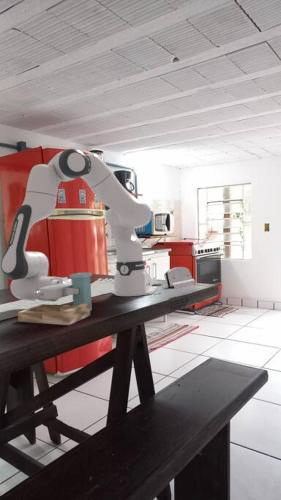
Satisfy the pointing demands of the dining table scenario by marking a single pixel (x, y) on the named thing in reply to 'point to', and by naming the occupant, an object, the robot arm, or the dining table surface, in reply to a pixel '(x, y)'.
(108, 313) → the dining table surface
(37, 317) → the keyhole board
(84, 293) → the post
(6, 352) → the dining table surface
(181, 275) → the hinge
